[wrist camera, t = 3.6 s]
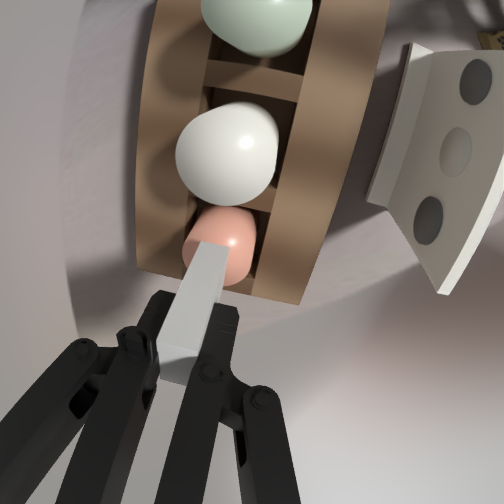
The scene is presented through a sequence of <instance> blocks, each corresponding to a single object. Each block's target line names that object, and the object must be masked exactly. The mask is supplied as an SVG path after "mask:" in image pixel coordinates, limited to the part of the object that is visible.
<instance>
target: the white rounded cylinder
mask: <svg viewBox="0 0 504 504" xmlns="http://www.w3.org/2000/svg"><path fill="white" fill-rule="evenodd" d="M278 142H279V130H278V126H277V124H276V121H275V119H274V118H273V116H272V115H271V114H270V112H268V111H267V110H266V109H265V108H264V107H262V106H260V105H259V104H256V103H254V102H250V101H234V102H230V103H227V104H225V105H222V106H220V107H217V108H215V109H213V110H210V111H208V112H206V113H203V114H201V115H199V116H198V117H196V118H195V119H193V120H192V121H191V122H190V123H189V124H188V125H187V126H186V127H185V128H184V130H183V131H182V133H181V135H180V137H179V139H178V142H177V146H176V153H175V159H176V166H177V170H178V173H179V175H180V177H181V179H182V181H183V182H184V184H185V185H186V186H187V188H188V189H189V190H190V191H191V192H192V193H193V194H195V195H196V196H197V197H199V198H201V199H202V200H204V201H206V202H209V203H212V204H216V205H221V206H234V205H239V204H243V203H246V202H248V201H250V200H252V199H254V198H255V197H257V196H258V195H259V194H261V193H262V192H263V191H264V190H265V188H266V187H267V186H268V184H269V183H270V181H271V179H272V177H273V174H274V171H275V165H276V158H277V150H278Z"/></svg>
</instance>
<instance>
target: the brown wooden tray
mask: <svg viewBox="0 0 504 504" xmlns="http://www.w3.org/2000/svg"><path fill="white" fill-rule="evenodd" d="M390 2H391V0H312V11H311V14H310V17H309V20H308V22H307V25H306V28H305V31H304V33H303V36H302V38H301V40H300V42H299V43H298V44H297V45H296V47H295V48H293V49H292V50H291V51H289V52H288V53H286V54H284V55H281V56H278V57H274V58H257V57H253V56H250V55H247V54H245V53H243V52H242V51H240V50H239V49H237V48H236V47H234V46H233V45H231V44H229V43H228V42H226V41H225V40H223V39H221V38H220V37H218V36H217V35H216V34H215V33H214V32H213V31H212V30H211V29H210V28H209V27H208V25H207V24H206V22H205V20H204V18H203V15H202V11H201V0H158V1H157V5H156V10H155V14H154V19H153V24H152V29H151V34H150V39H149V45H148V51H147V57H146V63H145V70H144V78H143V85H142V94H141V103H140V113H139V124H138V137H137V154H136V179H135V236H136V262H137V269H140V270H144V271H148V272H152V273H156V274H160V275H164V276H168V277H172V278H176V279H181V280H183V278H184V276H185V274H186V272H187V270H188V269H187V267H186V266H185V264H184V261H183V257H182V249H183V245H184V242H185V240H186V239H187V237H188V235H189V233H190V232H191V230H192V228H193V227H194V225H195V223H196V221H197V220H198V218H199V216H200V215H201V213H202V211H203V209H204V208H205V206H206V204H207V203H208V202H206V201H204V200H202V199H201V198H199V197H197V196H196V195H195V194H193V193H192V192H191V191H190V190H189V189H188V188H187V186H186V185H185V184H184V182H183V181H182V179H181V177H180V175H179V173H178V170H177V166H176V159H175V153H176V146H177V142H178V139H179V137H180V135H181V133H182V131H183V130H184V128H185V127H186V126H187V125H188V124H189V123H190V122H191V121H192V120H193V119H195V118H196V117H198V116H199V115H201V114H203V113H206V112H208V111H210V110H213V109H215V108H217V107H220V106H222V105H225V104H227V103H230V102H234V101H250V102H254V103H256V104H259V105H260V106H262V107H264V108H265V109H266V110H267V111H268V112H270V114H271V115H272V116H273V118H274V119H275V121H276V124H277V126H278V130H279V142H278V150H277V158H276V165H275V171H274V174H273V177H272V179H271V181H270V183H269V184H268V186H267V187H266V188H265V190H264V191H263V192H262V193H261V194H259V195H258V196H257V197H255V198H254V199H252V200H250V201H248V202H246V203H243V204H239V205H238V206H243V207H247V208H252V209H256V210H257V211H258V214H259V226H258V231H257V236H256V242H255V247H254V252H253V257H252V263H251V267H250V270H249V272H248V274H247V275H246V277H245V278H244V279H242V280H241V281H240V282H238V283H236V284H233V285H230V286H223V290H228V291H232V292H237V293H241V294H246V295H251V296H255V297H260V298H265V299H270V300H274V301H279V302H284V303H289V304H294V305H299V304H300V301H301V299H302V296H303V294H304V291H305V289H306V286H307V284H308V281H309V279H310V276H311V273H312V271H313V268H314V265H315V263H316V260H317V257H318V255H319V252H320V249H321V247H322V244H323V241H324V238H325V235H326V233H327V230H328V227H329V224H330V221H331V218H332V216H333V213H334V210H335V207H336V204H337V201H338V198H339V195H340V192H341V189H342V186H343V183H344V180H345V177H346V173H347V170H348V167H349V164H350V161H351V157H352V154H353V151H354V148H355V144H356V141H357V138H358V134H359V131H360V127H361V124H362V120H363V117H364V113H365V109H366V106H367V102H368V98H369V95H370V91H371V87H372V83H373V79H374V75H375V71H376V67H377V63H378V59H379V55H380V50H381V46H382V41H383V37H384V32H385V28H386V23H387V18H388V13H389V8H390Z"/></svg>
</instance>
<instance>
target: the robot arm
mask: <svg viewBox="0 0 504 504" xmlns="http://www.w3.org/2000/svg"><path fill="white" fill-rule="evenodd" d="M229 249H230V247H227V246H222V245H218V244H213V243H209V242H204V241H201V242H200V244H199V246H198V248H197V251H196V253H195V255H194V257H193V259H192V261H191V263H190V265H189V268H188V270H187V272H186V274H185V276H184V278H183V281H182V283H181V285H180V287H179V289H178V292H177V294H175V293H171V292H167V291H163V290H159V291H158V292H156V293H155V294H154V295H153V296H152V297H151V299H150V300H149V302H148V304H147V306H146V308H145V310H144V313H143V314H142V316H141V318H140V320H139V322H138V324H137V326H129V327H125V328H123V329H121V330H120V331H119V332H118V333H117V334H116V336H117V340H118V345H119V346H118V347H98V346H97V344H96V343H95V342H94V341H93V340H90V339H88V338H81V339H77V340H75V341H74V342H72V343H71V344H70V345H69V346H68V347H67V348H66V349H65V350H64V351H63V352H62V353H61V354H60V356H59V357H58V358H57V359H56V360H55V361H54V362H53V363H52V364H51V365H50V366H49V367H48V368H47V369H46V370H45V372H44V373H43V374H42V375H41V376H40V377H39V378H38V379H37V380H36V381H35V383H34V384H33V385H32V386H31V387H30V388H29V389H28V390H27V392H26V393H25V394H24V395H23V396H22V397H21V398H20V400H19V401H18V402H17V403H16V404H15V405H14V407H13V408H12V409H11V410H10V411H9V412H8V414H7V415H6V416H5V417H4V418H3V420H2V421H1V422H0V504H25V503H26V501H27V500H28V499H29V497H30V496H31V494H32V493H33V492H34V490H35V489H36V488H37V486H38V485H39V483H40V482H41V481H42V479H43V478H44V477H45V475H46V474H47V473H48V471H49V470H50V468H51V467H52V466H53V464H54V463H55V462H56V460H57V459H58V458H59V456H60V455H61V454H62V452H63V451H64V450H65V448H66V447H67V446H68V445H69V443H70V442H71V441H72V439H73V438H74V437H75V435H76V434H77V432H78V431H79V430H80V429H81V428H82V426H83V425H84V424H85V425H84V427H83V430H82V432H81V435H80V437H79V439H78V442H77V444H76V447H75V450H74V452H73V455H72V457H71V460H70V463H69V465H68V468H67V471H66V474H65V476H64V479H63V482H62V485H61V488H60V491H59V494H58V497H57V500H56V503H55V504H120V503H121V499H122V496H123V493H124V489H125V486H126V482H127V479H128V476H129V473H130V469H131V466H132V463H133V460H134V456H135V453H136V450H137V447H138V444H139V440H140V438H141V434H142V431H143V428H144V425H145V422H146V419H147V416H148V413H149V410H150V407H151V404H152V401H153V399H154V396H155V393H156V387H157V384H156V382H157V379H158V376H159V374H160V379H163V380H166V381H170V382H173V383H177V384H181V385H185V386H187V387H186V390H185V394H184V398H183V401H182V404H181V408H180V411H179V414H178V418H177V421H176V425H175V428H174V432H173V436H172V439H171V443H170V446H169V450H168V454H167V457H166V461H165V465H164V468H163V472H162V476H161V479H160V483H159V487H158V491H157V495H156V499H155V502H154V504H202V502H203V496H204V492H205V487H206V482H207V477H208V472H209V467H210V462H211V457H212V452H213V448H214V443H215V438H216V433H217V428H218V422H221V423H223V424H224V425H227V426H228V427H230V428H232V429H233V434H234V443H235V452H236V461H237V469H238V477H239V485H240V492H241V500H242V504H301V501H300V497H299V491H298V486H297V481H296V477H295V472H294V467H293V462H292V457H291V452H290V447H289V442H288V437H287V433H286V428H285V423H284V418H283V413H282V408H281V403H280V399H279V397H278V395H277V393H276V392H275V391H274V390H273V389H271V388H269V387H267V386H261V385H257V386H253V387H250V386H248V385H247V384H245V383H243V382H241V381H240V380H238V379H237V378H236V377H235V376H234V375H233V373H232V371H231V368H230V361H231V356H232V351H233V346H234V341H235V336H236V331H237V326H238V321H239V314H238V311H237V307H233V306H228V305H224V304H220V303H219V299H220V296H221V292H222V289H223V284H224V278H225V272H226V266H227V261H228V255H229Z"/></svg>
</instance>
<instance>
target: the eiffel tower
mask: <svg viewBox="0 0 504 504" xmlns="http://www.w3.org/2000/svg"><path fill="white" fill-rule="evenodd" d="M477 35H478V38H479V41H480V44H481V46H482V49H483V50H504V29H503V30H501V31H499V32H484V33H477Z"/></svg>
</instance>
